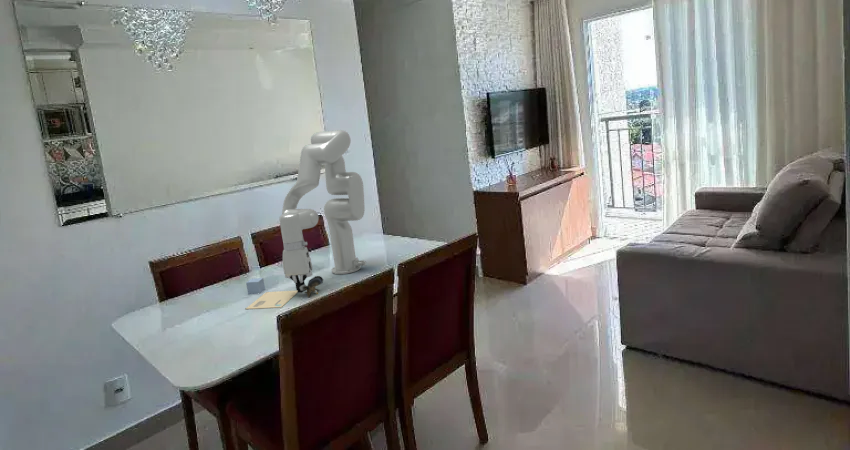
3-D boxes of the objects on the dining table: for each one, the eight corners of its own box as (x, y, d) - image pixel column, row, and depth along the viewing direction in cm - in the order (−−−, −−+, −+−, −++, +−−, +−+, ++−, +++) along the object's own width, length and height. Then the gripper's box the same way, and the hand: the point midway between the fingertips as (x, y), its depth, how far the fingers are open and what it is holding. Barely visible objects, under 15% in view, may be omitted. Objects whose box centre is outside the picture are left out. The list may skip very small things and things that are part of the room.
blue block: (265, 289, 223) (263, 277, 222) (259, 293, 218) (257, 281, 217) (253, 290, 224) (251, 278, 223) (248, 294, 219) (246, 282, 218)
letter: (299, 290, 216) (299, 290, 216) (281, 307, 198) (281, 306, 198) (266, 292, 218) (266, 292, 218) (245, 309, 201) (245, 308, 201)
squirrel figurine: (321, 294, 205) (328, 282, 213) (308, 280, 203) (315, 269, 212) (307, 304, 208) (315, 292, 216) (294, 291, 206) (302, 279, 214)
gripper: (316, 241, 209) (322, 287, 213) (279, 244, 211) (286, 289, 215) (309, 246, 202) (316, 294, 205) (271, 249, 204) (279, 296, 208)
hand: (301, 291), depth 210 cm, fingers closed
